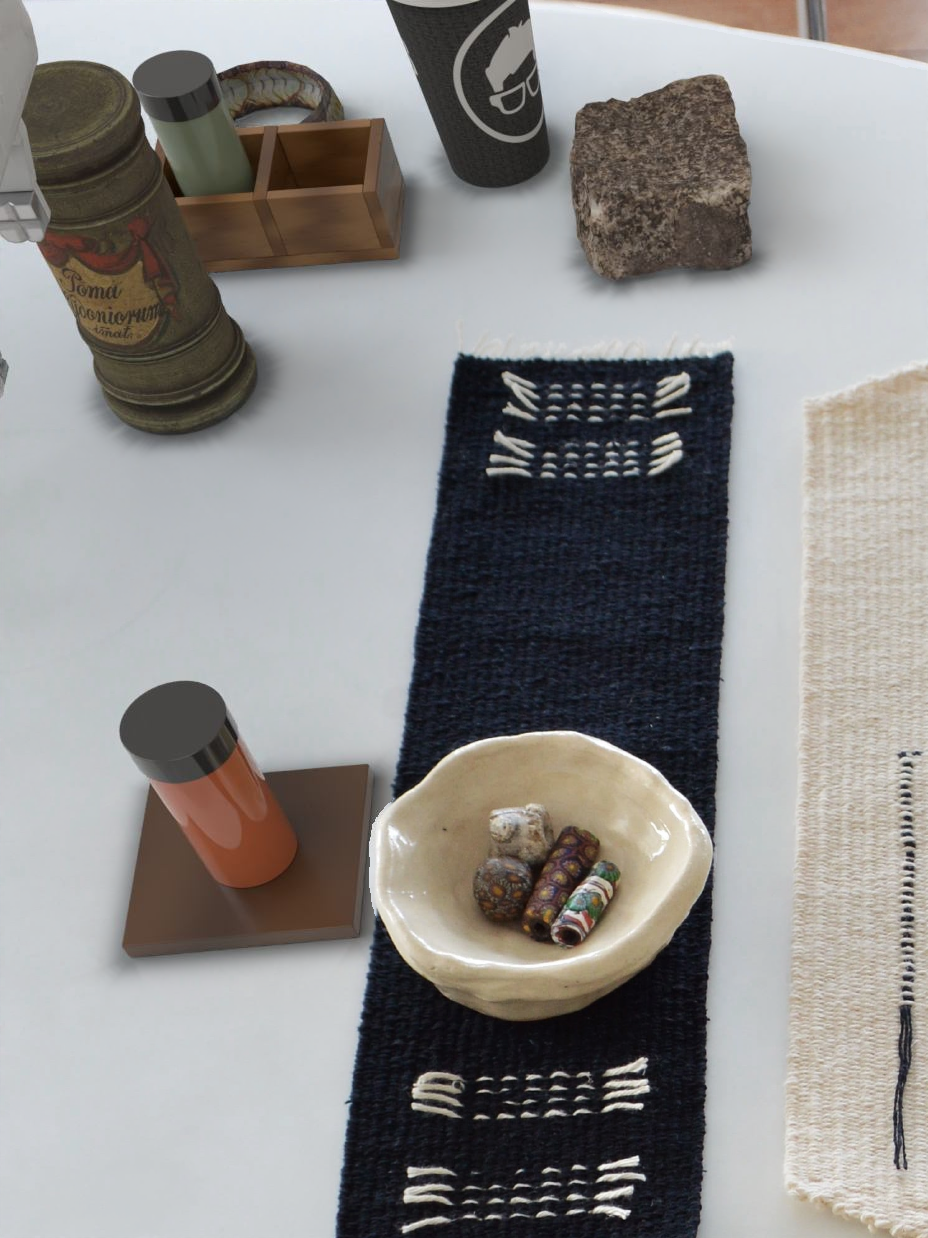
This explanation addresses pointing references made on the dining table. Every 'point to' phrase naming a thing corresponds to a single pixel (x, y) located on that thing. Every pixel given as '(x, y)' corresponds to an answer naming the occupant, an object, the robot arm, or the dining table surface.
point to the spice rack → (303, 199)
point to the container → (130, 257)
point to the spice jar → (209, 782)
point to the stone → (662, 181)
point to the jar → (194, 123)
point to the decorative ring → (279, 90)
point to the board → (272, 912)
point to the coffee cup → (479, 84)
